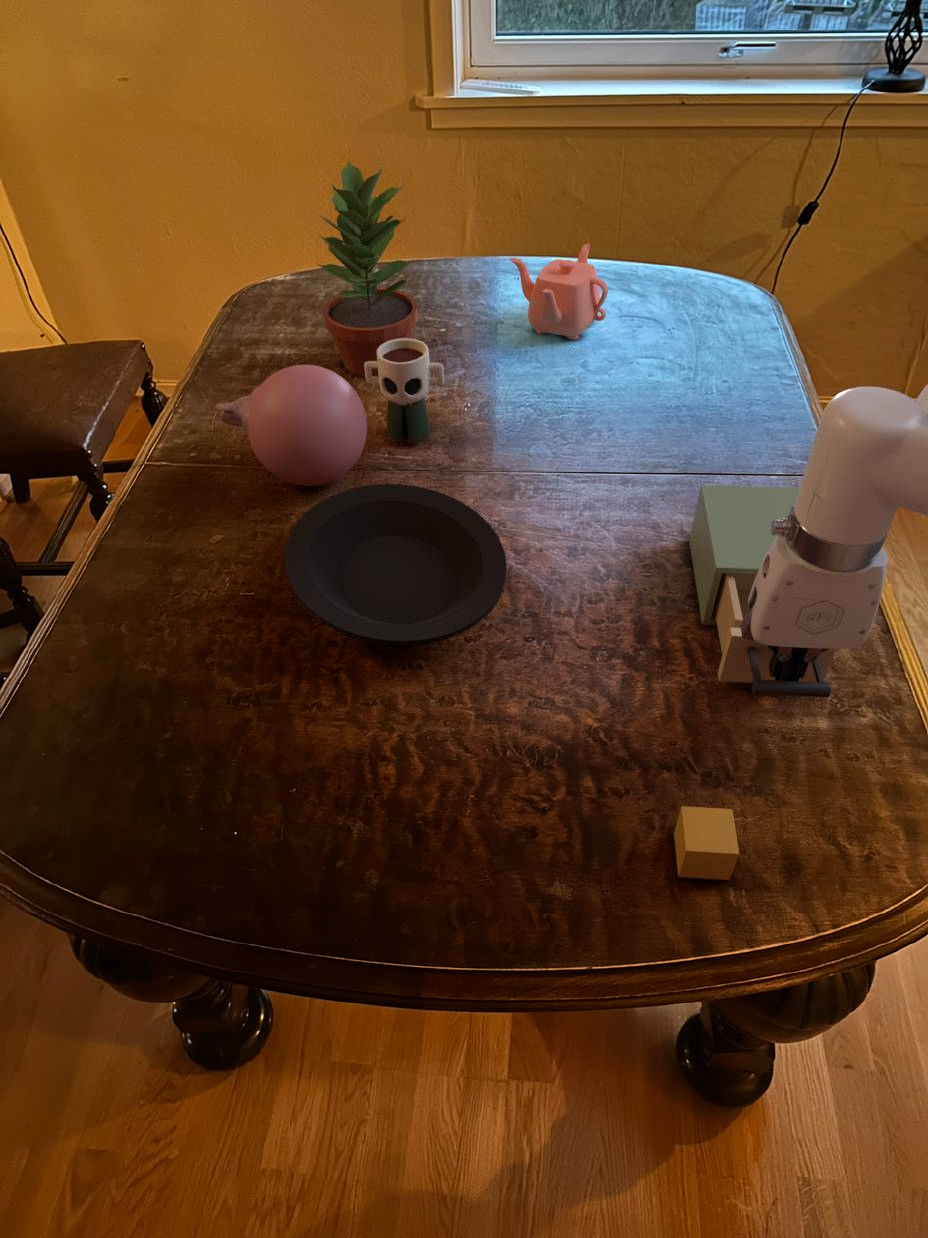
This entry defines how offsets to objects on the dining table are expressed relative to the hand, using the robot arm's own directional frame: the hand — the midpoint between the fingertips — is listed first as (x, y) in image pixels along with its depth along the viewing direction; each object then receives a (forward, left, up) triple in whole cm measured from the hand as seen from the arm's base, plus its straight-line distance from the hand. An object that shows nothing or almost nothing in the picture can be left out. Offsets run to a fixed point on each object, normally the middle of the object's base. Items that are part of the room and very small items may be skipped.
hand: (783, 678), depth 87 cm
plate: (+28, -34, -5) cm, 44 cm away
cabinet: (-9, -17, -5) cm, 20 cm away
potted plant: (+11, -86, -5) cm, 86 cm away
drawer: (-3, -6, -4) cm, 8 cm away
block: (+17, +10, -5) cm, 20 cm away
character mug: (+13, -64, -5) cm, 65 cm away
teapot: (-21, -83, -5) cm, 85 cm away
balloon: (+31, -62, -5) cm, 69 cm away
